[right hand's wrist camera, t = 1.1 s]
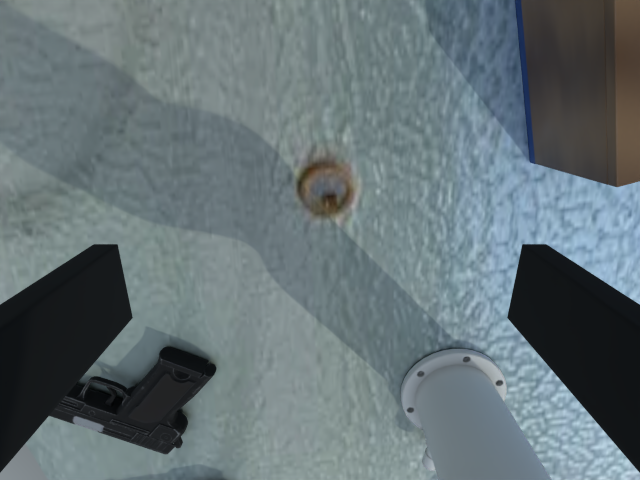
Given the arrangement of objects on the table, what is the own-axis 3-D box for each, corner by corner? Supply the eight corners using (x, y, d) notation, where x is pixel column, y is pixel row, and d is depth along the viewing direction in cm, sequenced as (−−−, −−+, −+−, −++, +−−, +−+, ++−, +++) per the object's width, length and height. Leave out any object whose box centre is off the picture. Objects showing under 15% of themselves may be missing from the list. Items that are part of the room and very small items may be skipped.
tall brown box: (512, -27, 31) (613, -93, 20) (589, -52, 30) (734, -134, 20) (530, 162, 36) (616, 187, 26) (595, 144, 36) (711, 162, 25)
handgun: (21, 309, 39) (-1, 407, 43) (212, 379, 42) (174, 464, 46) (41, 296, 42) (19, 389, 46) (219, 362, 45) (183, 444, 49)
